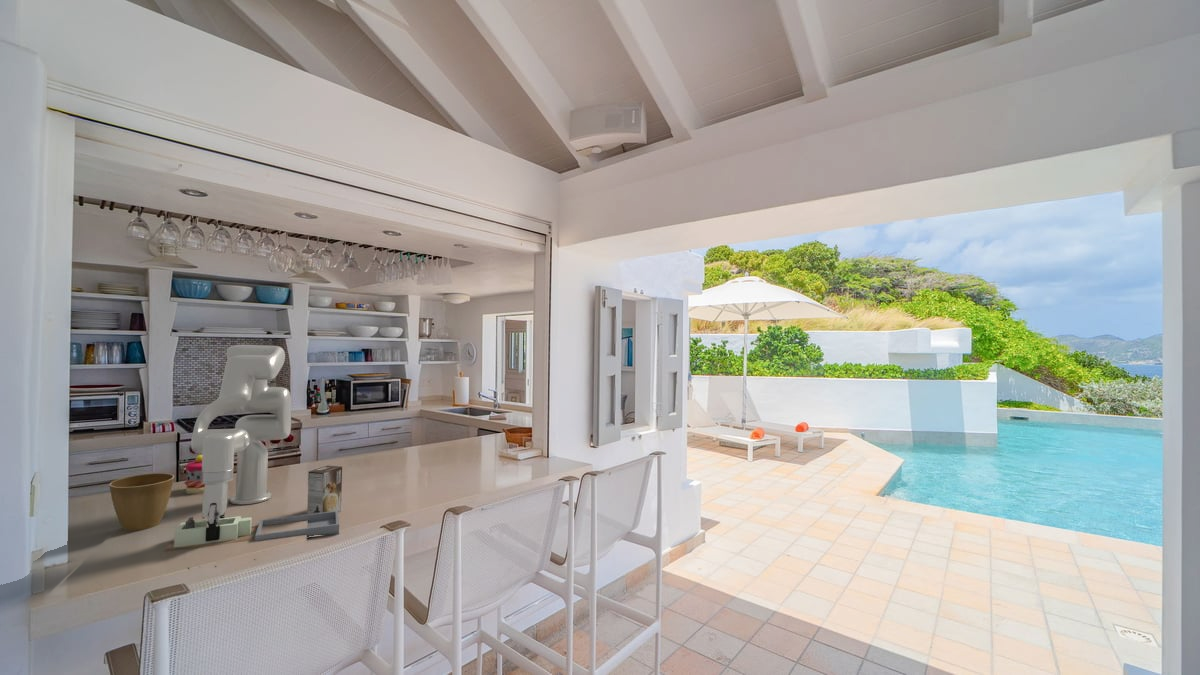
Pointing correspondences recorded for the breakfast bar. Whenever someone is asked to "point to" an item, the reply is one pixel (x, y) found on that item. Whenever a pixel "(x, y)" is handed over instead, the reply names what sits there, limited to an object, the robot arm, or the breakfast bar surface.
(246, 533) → the collar
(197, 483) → the cake
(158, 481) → the plant pot
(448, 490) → the breakfast bar surface
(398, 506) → the breakfast bar surface
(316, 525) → the tray
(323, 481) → the coffee box
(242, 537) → the board
